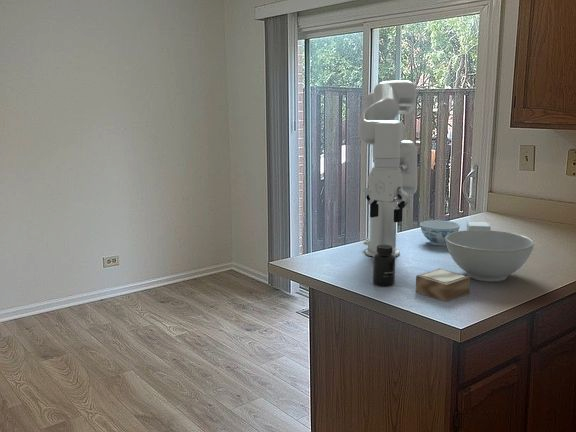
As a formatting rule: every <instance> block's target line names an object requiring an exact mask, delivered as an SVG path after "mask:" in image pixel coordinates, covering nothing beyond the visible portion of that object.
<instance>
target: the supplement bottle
mask: <svg viewBox="0 0 576 432" xmlns="http://www.w3.org/2000/svg"><path fill="white" fill-rule="evenodd" d="M392 249H393V247H392V246H390V245H378V246H377V254H375V255H374V257H373V259H372V284H373V285H375V286H378V287H391V286H393V285H395V282H396V281H395V278H396V277H395V276H396V257H395V256H394V255H393V254H392V253H393V251H392Z"/></svg>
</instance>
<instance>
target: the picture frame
mask: <svg viewBox="0 0 576 432" xmlns="http://www.w3.org/2000/svg"><path fill="white" fill-rule="evenodd" d="M470 285H471V278H470V277H469V276H468V275H464V274H460V273H457V272H453V271H450V270H449V271H448V270H446V269H442V268H438V269H434V270H431V271H427V272H424V273H421V274H417V275H416V276H415V292H416V293H418V294H422V295H424V296H428V297H430V298H434V299H437V300H440V301H443V302H449V301H452V300H454V299H457V298H460V297H464V296H465V295H466V296H467V295H468V294H470V289H471V287H470Z"/></svg>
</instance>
